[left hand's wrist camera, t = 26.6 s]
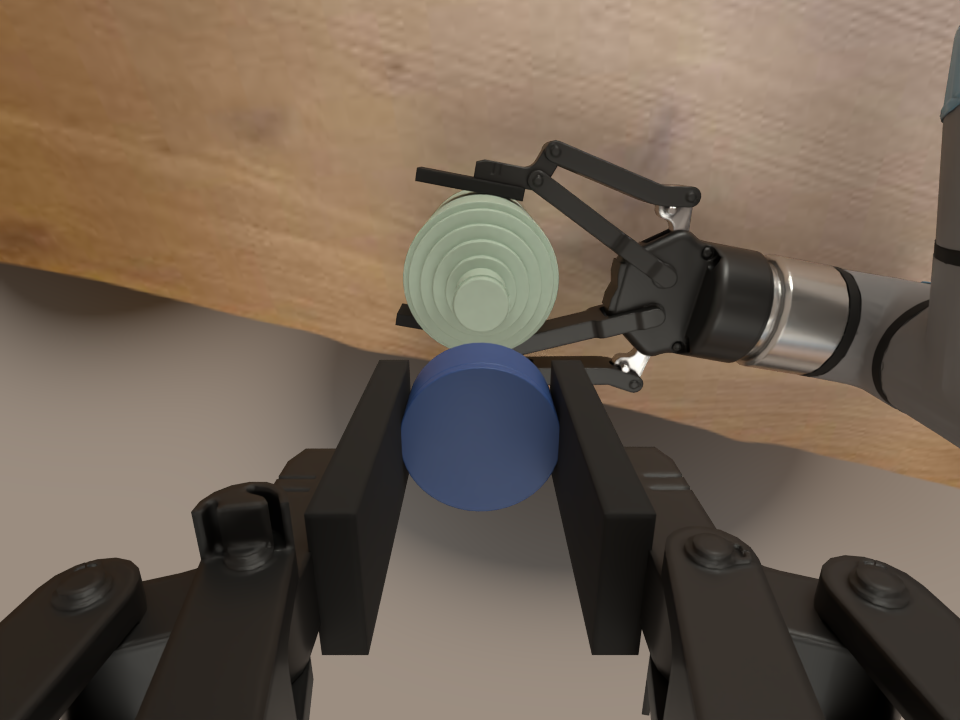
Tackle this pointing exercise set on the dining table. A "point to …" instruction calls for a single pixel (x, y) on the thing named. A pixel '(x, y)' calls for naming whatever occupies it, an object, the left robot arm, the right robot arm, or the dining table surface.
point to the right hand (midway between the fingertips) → (408, 246)
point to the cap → (480, 428)
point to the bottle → (480, 272)
